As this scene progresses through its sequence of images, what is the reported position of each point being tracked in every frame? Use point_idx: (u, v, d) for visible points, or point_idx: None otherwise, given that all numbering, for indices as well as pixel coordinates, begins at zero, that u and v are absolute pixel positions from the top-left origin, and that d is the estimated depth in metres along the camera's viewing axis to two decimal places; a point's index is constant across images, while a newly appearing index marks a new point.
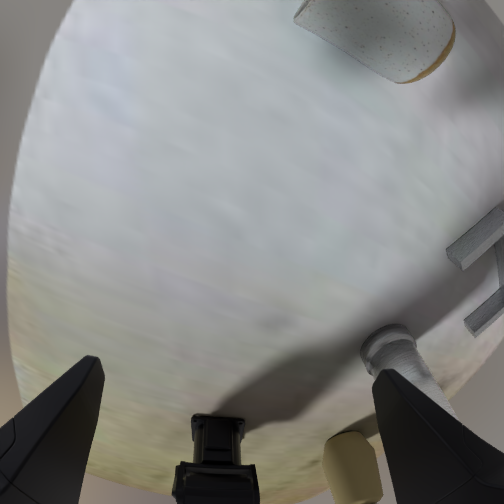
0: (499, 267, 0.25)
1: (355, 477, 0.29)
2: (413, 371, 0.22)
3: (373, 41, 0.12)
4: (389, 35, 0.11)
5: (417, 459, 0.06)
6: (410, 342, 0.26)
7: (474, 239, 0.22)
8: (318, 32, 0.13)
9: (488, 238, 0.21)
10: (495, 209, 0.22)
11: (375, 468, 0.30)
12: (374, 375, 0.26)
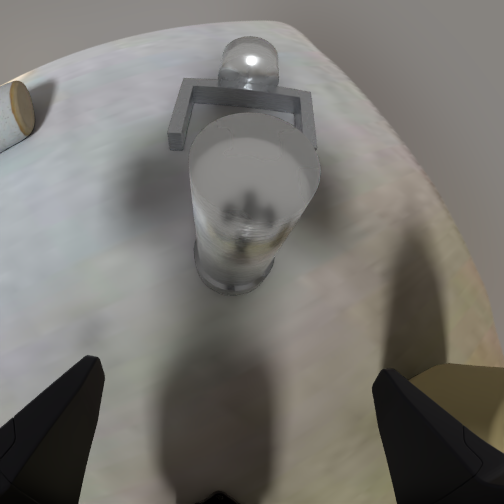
0: (256, 105, 0.29)
1: (449, 410, 0.14)
2: None
3: None
4: None
5: (417, 459, 0.06)
6: None
7: None
8: None
9: (176, 102, 0.25)
10: None
11: (468, 369, 0.15)
12: (216, 275, 0.19)
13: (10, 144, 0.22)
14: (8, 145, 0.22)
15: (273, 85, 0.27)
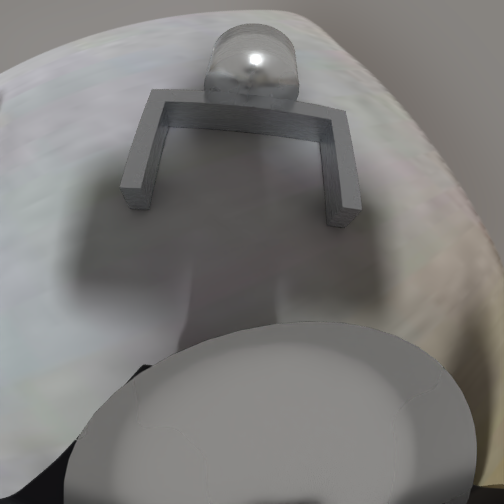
0: (263, 130, 0.19)
1: None
2: None
3: None
4: None
5: None
6: None
7: None
8: None
9: (137, 131, 0.16)
10: None
11: None
12: None
13: None
14: None
15: (290, 99, 0.18)
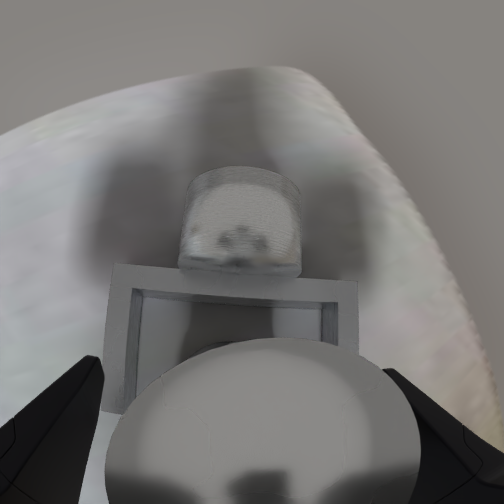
0: (255, 305, 0.17)
1: None
2: None
3: None
4: None
5: None
6: None
7: None
8: None
9: (106, 336, 0.13)
10: None
11: None
12: None
13: None
14: None
15: (289, 276, 0.15)
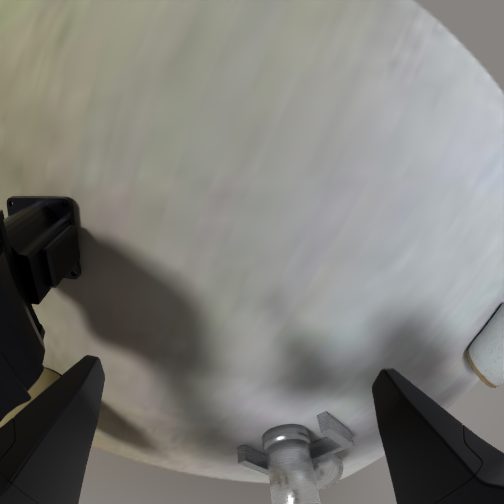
0: None
1: None
2: None
3: (503, 354, 0.22)
4: None
5: (417, 459, 0.06)
6: None
7: (338, 428, 0.31)
8: None
9: (342, 437, 0.30)
10: (349, 431, 0.33)
11: None
12: (286, 450, 0.28)
13: (479, 340, 0.26)
14: (480, 339, 0.26)
15: None
